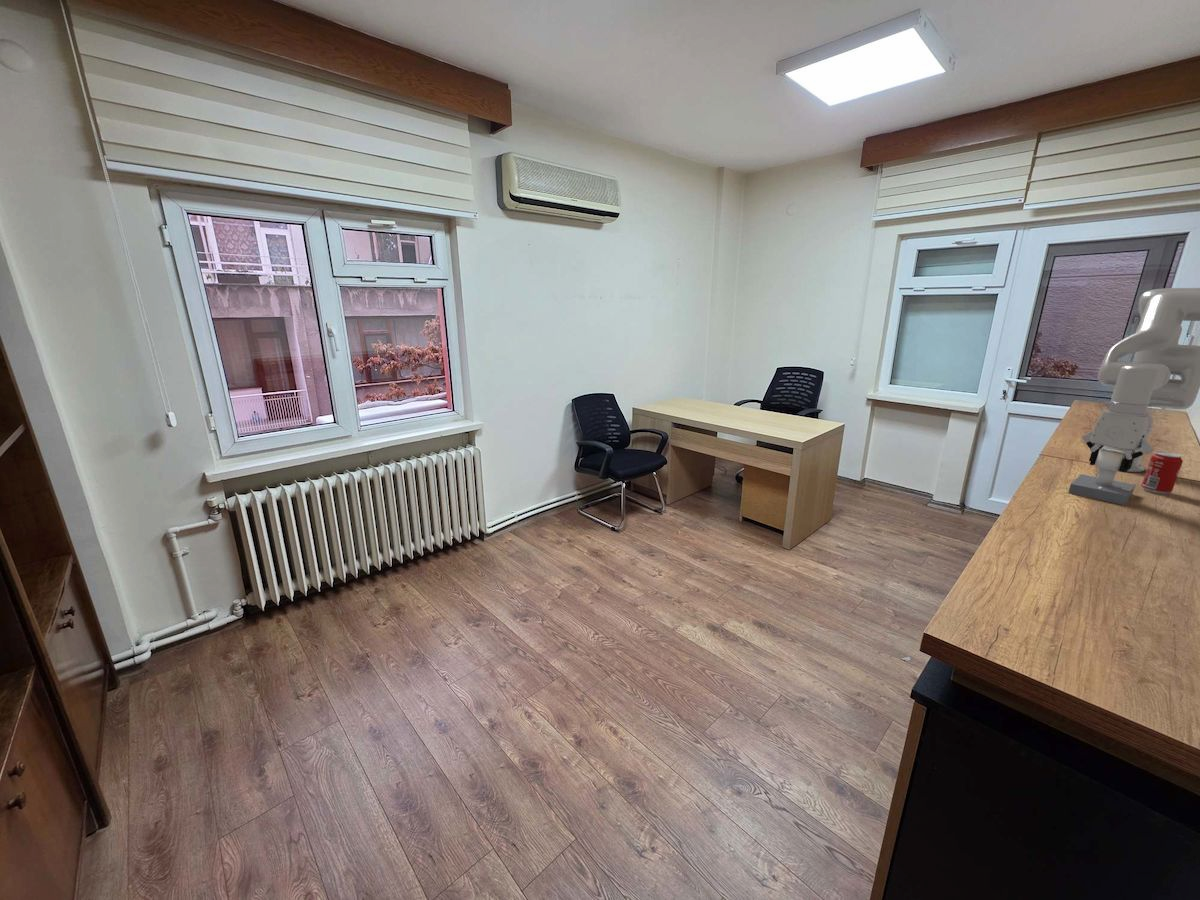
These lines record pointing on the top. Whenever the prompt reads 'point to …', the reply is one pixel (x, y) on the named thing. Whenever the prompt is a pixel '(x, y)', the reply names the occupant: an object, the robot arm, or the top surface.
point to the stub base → (1102, 487)
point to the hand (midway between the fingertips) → (1108, 467)
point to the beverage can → (1162, 472)
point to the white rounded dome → (1109, 459)
